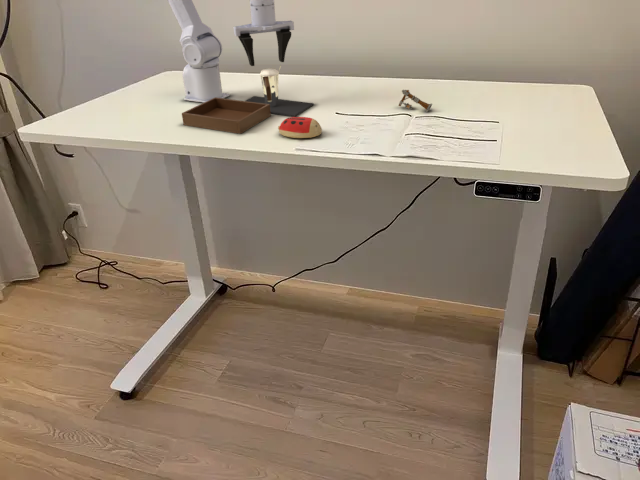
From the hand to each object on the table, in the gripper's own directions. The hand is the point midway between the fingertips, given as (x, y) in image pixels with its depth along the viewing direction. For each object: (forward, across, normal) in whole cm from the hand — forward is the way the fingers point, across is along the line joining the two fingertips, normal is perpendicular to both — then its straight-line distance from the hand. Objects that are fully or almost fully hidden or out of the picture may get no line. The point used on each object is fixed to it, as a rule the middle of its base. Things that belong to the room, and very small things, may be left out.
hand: (266, 63), depth 139 cm
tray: (+10, -13, -7) cm, 18 cm away
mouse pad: (+10, 0, -2) cm, 11 cm away
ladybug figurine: (+10, -1, -24) cm, 26 cm away
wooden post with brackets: (+10, +30, -21) cm, 38 cm away
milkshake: (+10, 0, -2) cm, 10 cm away
